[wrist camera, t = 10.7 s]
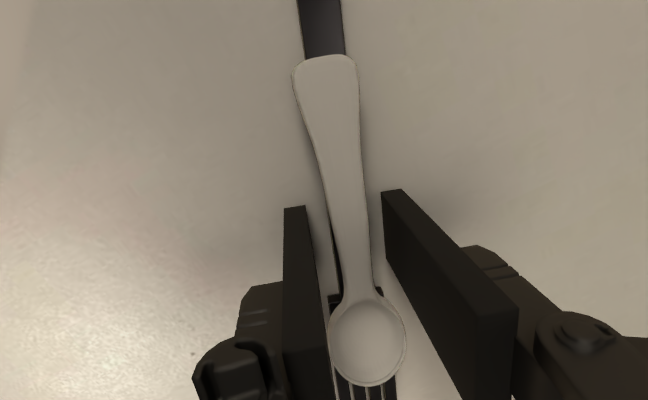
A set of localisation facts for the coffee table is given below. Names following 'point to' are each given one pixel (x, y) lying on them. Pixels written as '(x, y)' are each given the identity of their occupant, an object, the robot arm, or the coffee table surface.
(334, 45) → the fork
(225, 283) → the coffee table surface
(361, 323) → the spoon
